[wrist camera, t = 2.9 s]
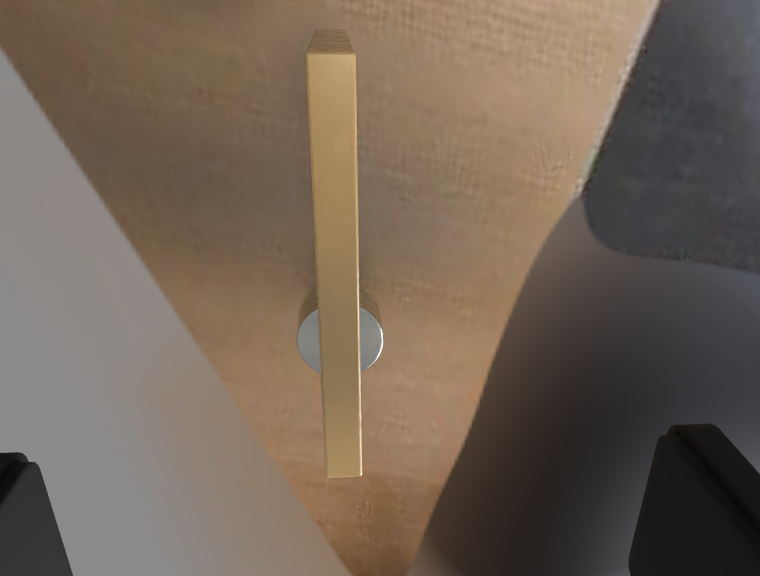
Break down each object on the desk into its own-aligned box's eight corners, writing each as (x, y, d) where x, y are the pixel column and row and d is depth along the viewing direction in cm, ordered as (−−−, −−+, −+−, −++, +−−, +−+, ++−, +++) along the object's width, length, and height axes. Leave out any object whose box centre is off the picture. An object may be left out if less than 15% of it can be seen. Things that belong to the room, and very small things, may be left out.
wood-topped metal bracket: (379, 348, 25) (401, 504, 17) (301, 351, 25) (288, 511, 17) (379, 29, 20) (411, 51, 12) (280, 29, 19) (248, 52, 12)
